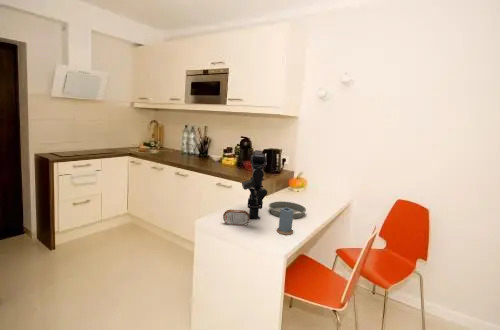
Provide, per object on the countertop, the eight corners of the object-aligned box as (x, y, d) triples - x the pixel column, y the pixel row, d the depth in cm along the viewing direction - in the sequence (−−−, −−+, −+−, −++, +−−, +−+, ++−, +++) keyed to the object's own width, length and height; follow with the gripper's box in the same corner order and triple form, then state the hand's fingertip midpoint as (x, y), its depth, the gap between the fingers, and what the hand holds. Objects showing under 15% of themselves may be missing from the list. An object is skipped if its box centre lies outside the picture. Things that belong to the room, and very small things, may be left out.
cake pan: (275, 220, 176) (276, 213, 175) (263, 207, 199) (263, 201, 198) (312, 219, 182) (313, 212, 182) (296, 207, 206) (296, 201, 205)
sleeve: (278, 229, 159) (280, 208, 157) (284, 227, 162) (286, 207, 160) (285, 232, 155) (287, 211, 153) (291, 230, 158) (293, 210, 156)
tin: (249, 224, 166) (250, 210, 165) (249, 226, 163) (250, 212, 161) (222, 222, 165) (223, 208, 164) (222, 224, 162) (223, 210, 161)
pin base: (274, 228, 161) (274, 219, 161) (288, 228, 164) (289, 219, 163) (280, 235, 153) (281, 226, 152) (295, 234, 156) (296, 225, 155)
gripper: (238, 172, 167) (237, 198, 169) (248, 179, 149) (246, 208, 152) (257, 172, 170) (255, 198, 173) (268, 179, 153) (266, 208, 155)
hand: (255, 203), depth 163 cm, fingers open, 9 cm apart
